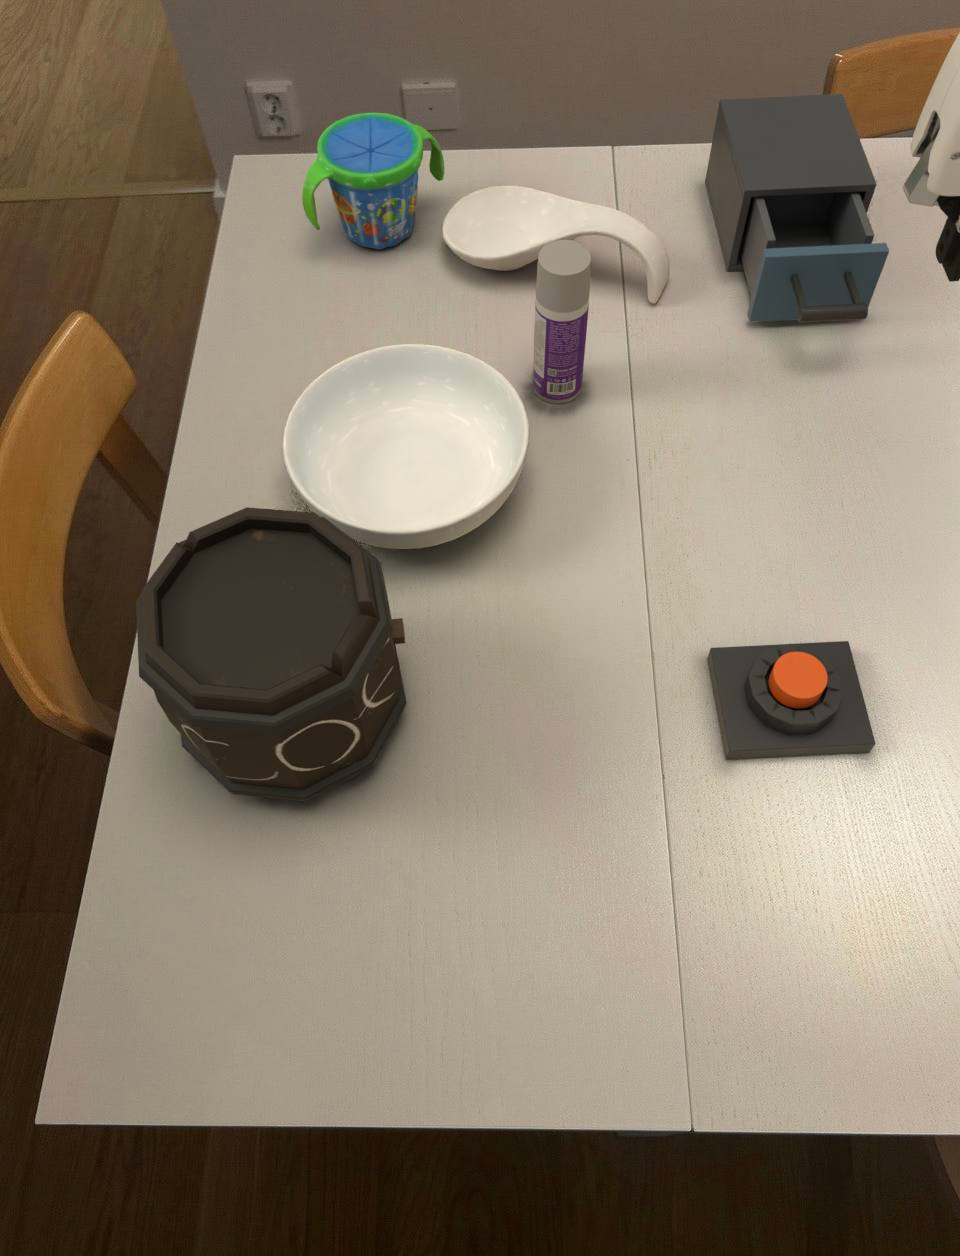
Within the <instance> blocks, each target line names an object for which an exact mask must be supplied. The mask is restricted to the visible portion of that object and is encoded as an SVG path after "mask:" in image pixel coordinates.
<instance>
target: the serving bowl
mask: <svg viewBox="0 0 960 1256" xmlns="http://www.w3.org/2000/svg"><path fill="white" fill-rule="evenodd" d="M285 422H286V423H285V426H284V429H283V435H282V453H283V454H282V455H283V461H284V465H285V469H286V471H287V474H288V476H289V479H290V481H291V483H292V484H293V486H294V488H295V490H296V491H297V493H298V495H299V496H300V498H301V500H302V501H303V502H304V503H305V505H307V508H309V509H310V511H311V512H313V513H316V514H317V515H319V516H320V517H324V518H326V519H327V520H328V521H330V522H331V523H332V524H333V525H335V526H336V527H337V528H339V529H340V530H341V531H343V532H344V533H345V534H346V535H348V536H349V537H350V538H352V539H353V540H354V541H355V542H359V543H362V544H365V545H368V546H373V547H377V548H383V549H393V550H413V549H414V550H415V549H424V548H429V547H434V546H438V545H443V544H445V543H448V542H452V541H454V540H457V539H458V538H460V537H462V536H465V535H466V534H469V533H470V532H472V531H474V530H475V529H477V528H478V527H480V526H482V524H484V523H485V522H487V521H488V520H489V519H491V517H492V516H494V515H495V513H497V511H498V510H499V509H500V508H502V506H503V505H504V503H505V502H506V501H507V500H508V498H509V497H510V496H511V494H512V492H513V491H514V489H515V487H516V485H517V483H518V481H519V479H520V477H521V475H522V471H523V469H524V466H525V463H526V458H527V453H528V449H529V444H530V443H529V442H530V424H529V423H530V422H529V418H528V414H527V410H526V407H525V405H524V403H523V400H522V398H521V396H520V395H519V393H518V391H517V390H516V388H515V387H514V386H513V385H512V383H511V382H510V381H509V380H508V379H507V378H506V377H505V376H504V375H503V374H502V373H501V372H500V371H499V370H498V369H496V368H495V367H494V366H492V365H490V364H489V363H487V362H485V361H484V360H482V359H481V358H478V357H476V356H474V355H473V354H472V355H471V354H469V353H467V352H463V351H460V350H458V349H454V348H450V347H446V346H441V345H435V344H434V345H433V344H426V343H403V344H401V343H400V344H393V345H385V346H380V347H376V348H372V349H368V350H365V351H362V352H359V353H357V354H354V355H352V356H349V357H347V358H345V359H343V360H341V361H339V362H338V363H336V364H334V365H332V366H331V367H329V368H328V369H327V370H325V371H324V372H322V373H321V374H319V376H318V377H316V378H315V379H314V380H313V381H311V382H310V384H309V385H308V386H307V387H305V389H304V390H303V391H302V392H301V394H300V395H299V397H297V399H296V401H295V403H294V404H293V406H292V408H291V410H290V412H289V414H288V417H287V420H286V421H285Z"/></svg>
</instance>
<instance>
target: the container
mask: <svg viewBox="0 0 960 1256" xmlns="http://www.w3.org/2000/svg"><path fill="white" fill-rule="evenodd" d="M536 267H537V270H536V283H535V284H536V285H535V298H534V299H535V300H534V327H533V328H534V331H533V332H534V333H533V336H534V337H533V359H532V360H533V361H532V362H533V364H532V365H533V366H532V389H533V392H534V394H535V395H536V396H537V397H538V398H539V399H540V400H542V401H544V402H546V403H550V404H556V405H557V404H558V405H559V404H566V403H568V402H571V401H574V400H575V399H576V398H577V397H578V396H579V395H580V393H581V391H582V386H583V376H584V367H585V366H584V364H585V355H586V354H585V353H586V341H587V332H588V331H587V330H588V319H589V310H590V309H589V308H590V291H591V290H590V289H591V269H592V254H591V251H590V250H589V248H588V247H586V246H585V245H584V244H582V243H581V242H578V241H576V240H573V239H572V240H557V241H553V242H550V243H548V244H546V245H545V246H544V247H543V248H542V249H541V250H540V252H539V255H538V259H537V266H536Z"/></svg>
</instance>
